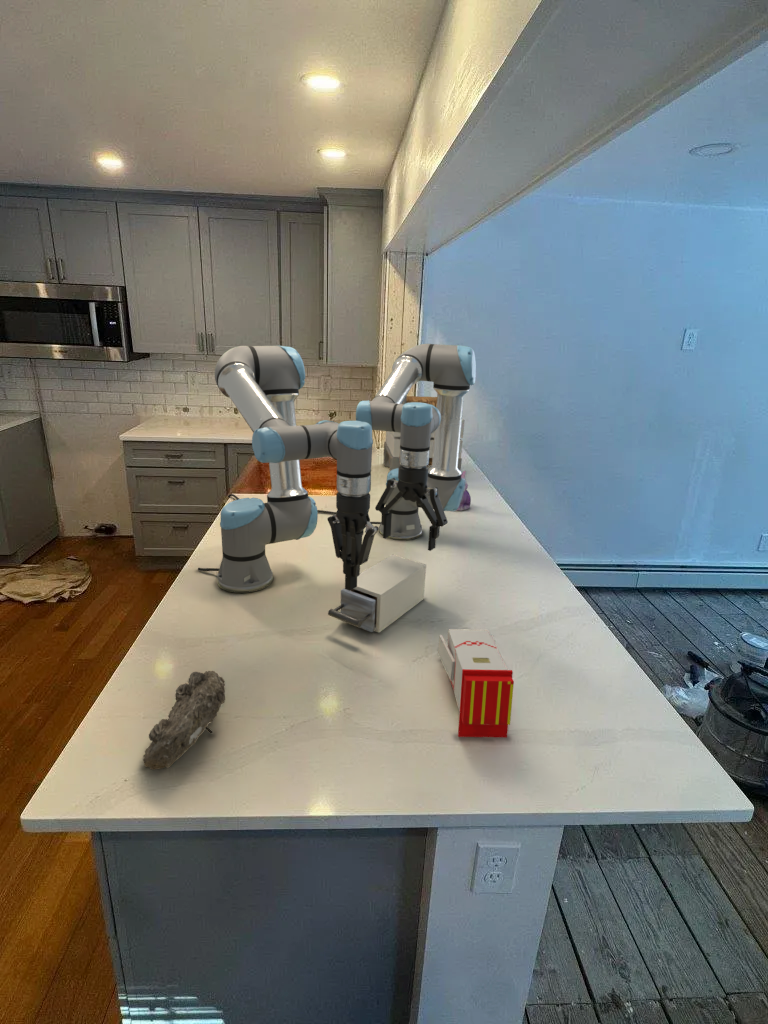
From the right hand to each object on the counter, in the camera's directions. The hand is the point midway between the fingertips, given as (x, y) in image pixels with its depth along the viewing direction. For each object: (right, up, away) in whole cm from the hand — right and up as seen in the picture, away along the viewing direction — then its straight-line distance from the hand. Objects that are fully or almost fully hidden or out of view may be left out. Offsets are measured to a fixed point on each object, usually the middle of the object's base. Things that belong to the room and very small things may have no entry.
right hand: (408, 542), depth 150 cm
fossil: (-42, -32, -46) cm, 70 cm away
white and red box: (+11, -29, -32) cm, 45 cm away
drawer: (-9, -18, -5) cm, 21 cm away
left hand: (-14, -10, -17) cm, 24 cm away
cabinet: (-6, -17, 0) cm, 18 cm away
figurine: (+24, +10, +79) cm, 83 cm away
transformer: (+11, +27, +125) cm, 128 cm away
